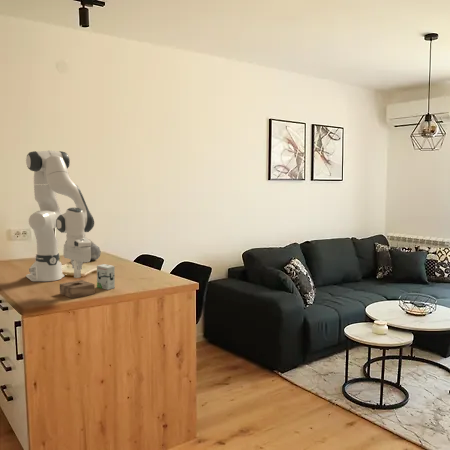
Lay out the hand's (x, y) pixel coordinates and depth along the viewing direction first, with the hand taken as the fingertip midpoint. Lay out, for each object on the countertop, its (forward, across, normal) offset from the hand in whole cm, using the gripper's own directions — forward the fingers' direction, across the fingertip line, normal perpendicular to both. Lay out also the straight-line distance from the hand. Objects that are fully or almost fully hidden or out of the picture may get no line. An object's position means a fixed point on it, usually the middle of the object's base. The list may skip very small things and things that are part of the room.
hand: (77, 269), depth 226 cm
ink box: (+13, -1, +17) cm, 21 cm away
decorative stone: (+12, -72, +50) cm, 89 cm away
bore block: (+13, 0, 0) cm, 13 cm away
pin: (+4, 0, 0) cm, 4 cm away
